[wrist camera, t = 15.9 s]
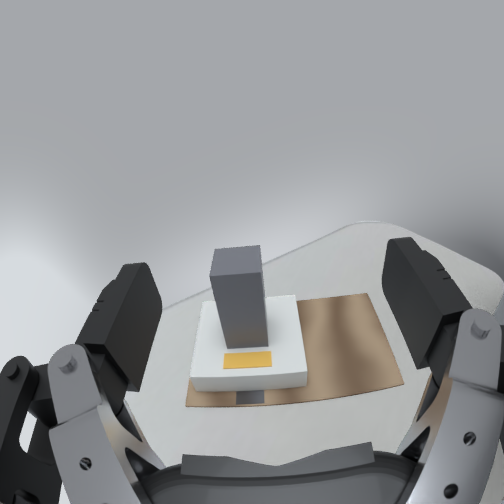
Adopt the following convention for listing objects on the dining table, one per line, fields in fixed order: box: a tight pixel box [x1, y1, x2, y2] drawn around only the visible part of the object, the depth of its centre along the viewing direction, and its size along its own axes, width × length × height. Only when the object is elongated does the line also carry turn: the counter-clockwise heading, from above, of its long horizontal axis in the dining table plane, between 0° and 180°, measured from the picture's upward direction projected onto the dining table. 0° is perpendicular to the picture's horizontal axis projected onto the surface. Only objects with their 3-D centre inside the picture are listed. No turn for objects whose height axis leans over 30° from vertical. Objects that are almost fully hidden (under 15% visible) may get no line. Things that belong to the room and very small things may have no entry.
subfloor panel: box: [185, 293, 404, 407], centre depth 34 cm, size 24×16×1 cm, turn 90°
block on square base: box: [189, 245, 307, 392], centre depth 31 cm, size 12×12×13 cm
